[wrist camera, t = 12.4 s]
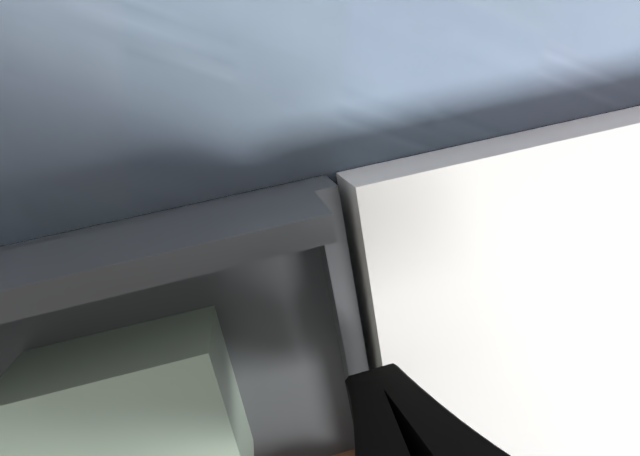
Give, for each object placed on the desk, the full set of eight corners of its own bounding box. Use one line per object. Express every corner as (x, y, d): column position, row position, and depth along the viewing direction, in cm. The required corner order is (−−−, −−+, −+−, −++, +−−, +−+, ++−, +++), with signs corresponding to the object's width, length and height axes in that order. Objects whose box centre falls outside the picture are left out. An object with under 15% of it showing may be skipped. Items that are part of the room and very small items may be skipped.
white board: (713, 463, 19) (765, 503, 17) (403, 575, 17) (423, 634, 15) (801, 69, 13) (896, 64, 11) (335, 172, 11) (355, 187, 9)
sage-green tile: (59, 566, 10) (91, 486, 12) (255, 506, 10) (253, 439, 13) (-32, 413, 8) (22, 351, 10) (208, 352, 9) (214, 305, 11)
